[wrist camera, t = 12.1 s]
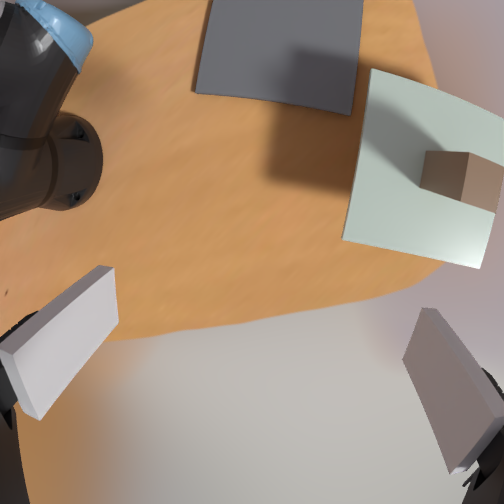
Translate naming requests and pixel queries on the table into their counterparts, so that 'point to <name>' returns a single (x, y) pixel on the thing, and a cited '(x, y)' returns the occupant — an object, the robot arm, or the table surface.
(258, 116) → the table surface
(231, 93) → the mat
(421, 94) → the lid
